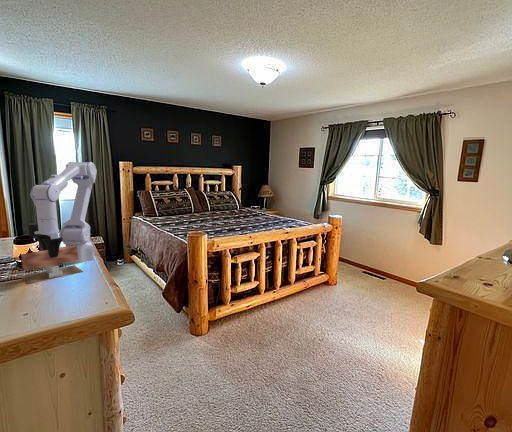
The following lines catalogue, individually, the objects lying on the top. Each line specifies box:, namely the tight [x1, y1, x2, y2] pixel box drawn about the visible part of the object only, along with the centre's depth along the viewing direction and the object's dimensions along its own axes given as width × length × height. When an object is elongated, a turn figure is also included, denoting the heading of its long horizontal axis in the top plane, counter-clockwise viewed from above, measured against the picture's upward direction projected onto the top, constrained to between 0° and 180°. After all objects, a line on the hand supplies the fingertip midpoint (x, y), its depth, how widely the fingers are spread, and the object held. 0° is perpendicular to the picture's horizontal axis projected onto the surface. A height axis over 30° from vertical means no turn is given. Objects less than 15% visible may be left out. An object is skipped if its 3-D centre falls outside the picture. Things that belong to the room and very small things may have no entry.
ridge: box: [42, 264, 64, 279], centre depth 102 cm, size 4×9×4 cm, turn 49°
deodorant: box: [27, 222, 43, 251], centre depth 127 cm, size 6×6×15 cm
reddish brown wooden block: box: [20, 245, 78, 271], centre depth 101 cm, size 16×4×5 cm, turn 145°
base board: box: [20, 264, 84, 285], centre depth 102 cm, size 17×11×1 cm, turn 139°
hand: (51, 255), depth 101 cm, fingers open, 7 cm apart
